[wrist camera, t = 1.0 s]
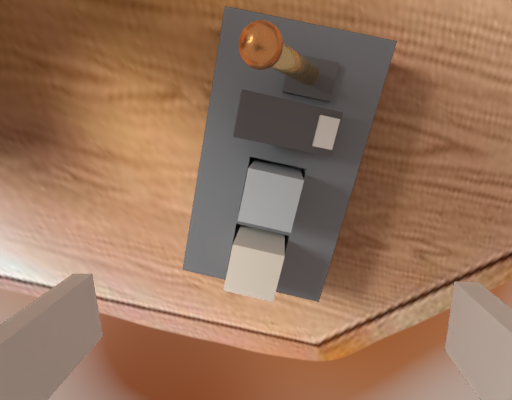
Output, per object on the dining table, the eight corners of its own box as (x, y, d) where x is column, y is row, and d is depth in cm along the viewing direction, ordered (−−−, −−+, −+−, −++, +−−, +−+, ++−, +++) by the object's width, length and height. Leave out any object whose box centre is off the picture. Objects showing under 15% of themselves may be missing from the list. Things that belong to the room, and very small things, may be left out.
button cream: (234, 260, 32) (223, 290, 26) (242, 221, 31) (232, 244, 25) (274, 269, 32) (273, 302, 26) (284, 231, 30) (284, 256, 25)
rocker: (232, 135, 24) (233, 137, 23) (241, 90, 23) (242, 88, 22) (326, 154, 25) (332, 157, 24) (337, 112, 24) (344, 112, 23)
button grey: (246, 202, 30) (237, 220, 24) (255, 159, 29) (248, 167, 23) (289, 212, 30) (290, 232, 24) (299, 169, 29) (304, 180, 23)
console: (196, 249, 35) (177, 276, 29) (234, 25, 29) (221, -2, 23) (313, 277, 35) (320, 310, 28) (377, 55, 29) (404, 35, 22)
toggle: (295, 91, 25) (226, 61, 18) (303, 58, 24) (234, 12, 17) (324, 95, 23) (262, 65, 16) (333, 60, 23) (272, 11, 16)
